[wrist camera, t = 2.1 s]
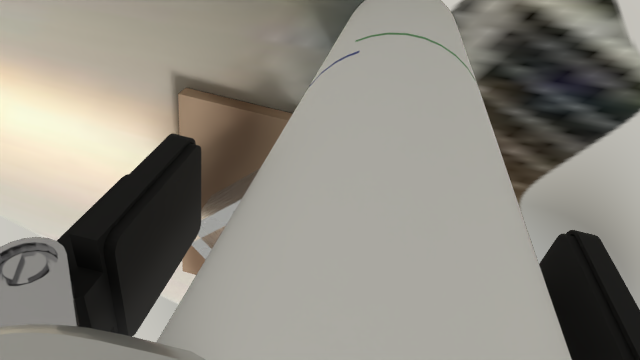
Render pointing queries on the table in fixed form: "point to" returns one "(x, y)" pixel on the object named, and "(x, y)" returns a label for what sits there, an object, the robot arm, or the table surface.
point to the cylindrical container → (377, 218)
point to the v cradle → (224, 157)
